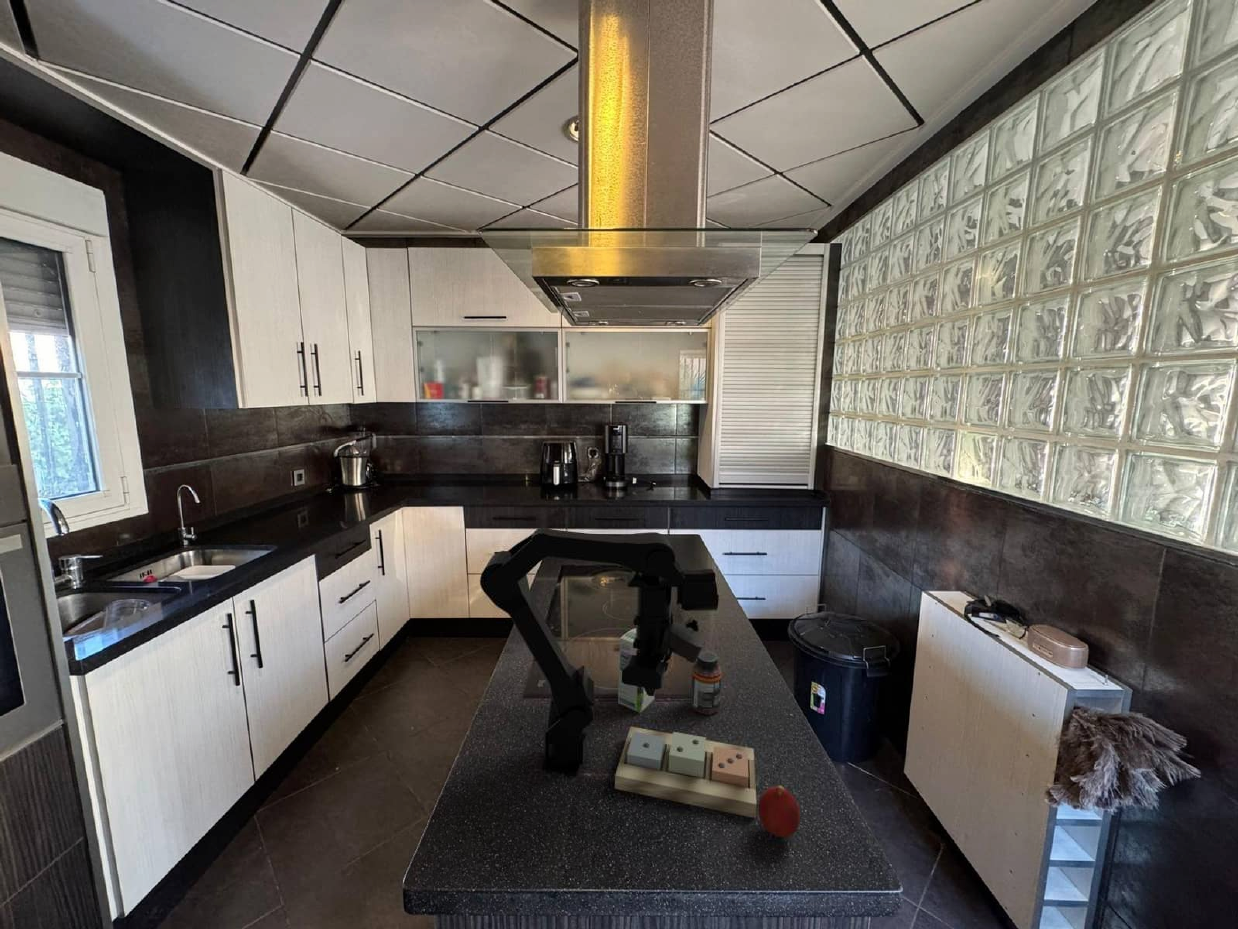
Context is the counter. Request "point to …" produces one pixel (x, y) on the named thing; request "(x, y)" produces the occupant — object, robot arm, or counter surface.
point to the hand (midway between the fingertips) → (650, 695)
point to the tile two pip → (687, 754)
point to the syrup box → (629, 693)
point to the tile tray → (688, 780)
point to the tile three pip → (730, 767)
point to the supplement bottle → (706, 683)
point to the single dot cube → (646, 751)
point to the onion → (779, 811)
